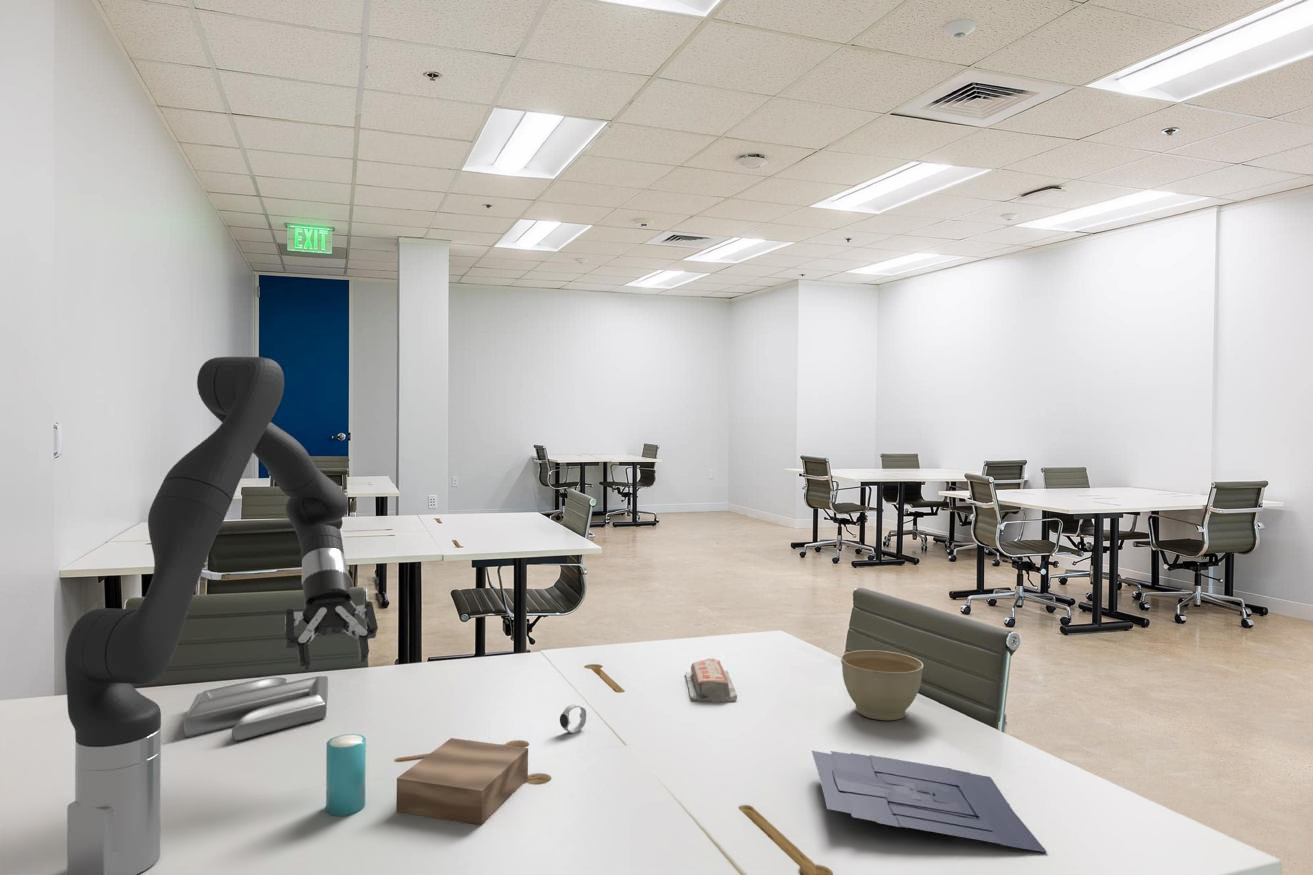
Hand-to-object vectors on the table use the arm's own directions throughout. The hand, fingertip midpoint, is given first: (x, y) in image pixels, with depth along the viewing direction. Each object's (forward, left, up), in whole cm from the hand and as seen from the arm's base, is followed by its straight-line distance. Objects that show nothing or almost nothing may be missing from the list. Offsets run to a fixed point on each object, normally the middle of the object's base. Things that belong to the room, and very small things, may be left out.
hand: (335, 663), depth 131 cm
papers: (+17, -91, -19) cm, 95 cm away
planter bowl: (+58, -86, -19) cm, 105 cm away
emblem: (+20, +32, -19) cm, 42 cm away
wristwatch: (+30, -30, -19) cm, 46 cm away
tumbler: (-8, -8, -19) cm, 22 cm away
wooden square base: (+1, -23, -19) cm, 30 cm away
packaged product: (+63, -50, -19) cm, 82 cm away
